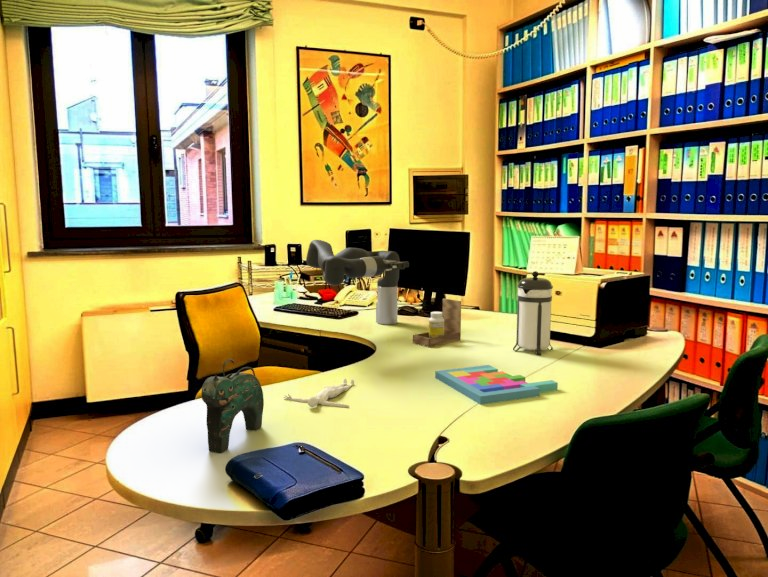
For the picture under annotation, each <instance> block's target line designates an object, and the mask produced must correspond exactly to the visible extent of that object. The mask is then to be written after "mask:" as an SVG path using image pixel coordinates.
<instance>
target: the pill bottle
mask: <svg viewBox="0 0 768 577" xmlns="http://www.w3.org/2000/svg"><path fill="white" fill-rule="evenodd" d="M442 316H443V311H431V312H430V317H429V319H428V332H429V338H433V337H438V336H443V335H444V318H442Z"/></svg>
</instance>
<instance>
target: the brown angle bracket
mask: <svg viewBox="0 0 768 577" xmlns="http://www.w3.org/2000/svg"><path fill="white" fill-rule="evenodd" d="M442 313H443V316H442V318H444V335H443V336H438V337H433V338H429V331H426V332H421V333H417V334H416V333H415V334H413V335H412V344H414V343H415V345H418V344H419V345H420V346H423V345H424V346H423V347H427V346H428V348H432V347H436V345H437V346H441V345H445V343H446V344H450V343H454V341H455V342H460V341H461V340H462V339H461V336H462V335H461V334H462V331H461V330H462V329H461V327H462V323H461V322H462V300H457V299H456V300H455V299H451V298H442ZM431 346H432V347H431Z"/></svg>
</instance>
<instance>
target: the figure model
mask: <svg viewBox="0 0 768 577" xmlns="http://www.w3.org/2000/svg"><path fill="white" fill-rule="evenodd" d="M347 384H348V380H347V378H344V379H343V382H342V383H341V384H338V385H329V386H325V387H324V388H323V389H322V390H321V391H319V392H317V393H316V394H315V396H311V397H309V398H301V397H299V398H298V397H292V395H290V394H289V393H288V394H287V395H288V396H287V395H284V396H283V399H285V400H287V401H294V402H298V403H299V402H300V403H306V404H308V406H309V407H310V408H316V406H317V405H321V406H328V407H329V406H330V407H337V408H345V409H346V408H347V409H348V408H350V405H348V404H347V403H346V404H345V403H341V402H333V401H328V399H334V398H336V397H337V396H338V395H340V394H341V393H343V392H346V391H348V390H349V389H350V388H352V387H353V386H355V380H354V379H351V380H350V384H348V385H347Z"/></svg>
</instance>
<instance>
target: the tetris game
mask: <svg viewBox="0 0 768 577" xmlns="http://www.w3.org/2000/svg"><path fill="white" fill-rule="evenodd" d="M434 378H435V379H436V380H438V381H439V382H440V383H443V384H444V385H446V386H448V387H450V388H451V389H453V390H455V391H457V392H458V393H460V394H461V395H463V396H465V397H467V398H469V399H470V400H472V401H473V402H475V403H477V404H478V405H485V404H493V403H499V402H508V401H513V400H514V401H515V399H516V400H521V399H522V398H523V399H529V397H530V398H536V396H537V397H540V393H545V392H546V393H547V391H548V392H554V390H555V391H558V386H559V384H558V383H559V382H557V381H555V380H545V381H535V382H526V377H525V376H523V375H521V374H518V375H511V374H509V373H507V372H505V371H504V370H503V371H499V370H498V368H496V367H494V366H492V365H490V364H487V365H485V364H484V365H476V366H468V367H461V368H460V367H459V368H449V369H441V370H435V371H434Z"/></svg>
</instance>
